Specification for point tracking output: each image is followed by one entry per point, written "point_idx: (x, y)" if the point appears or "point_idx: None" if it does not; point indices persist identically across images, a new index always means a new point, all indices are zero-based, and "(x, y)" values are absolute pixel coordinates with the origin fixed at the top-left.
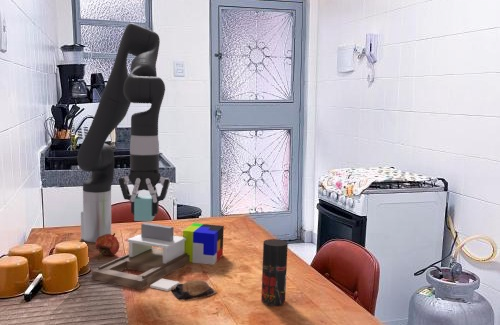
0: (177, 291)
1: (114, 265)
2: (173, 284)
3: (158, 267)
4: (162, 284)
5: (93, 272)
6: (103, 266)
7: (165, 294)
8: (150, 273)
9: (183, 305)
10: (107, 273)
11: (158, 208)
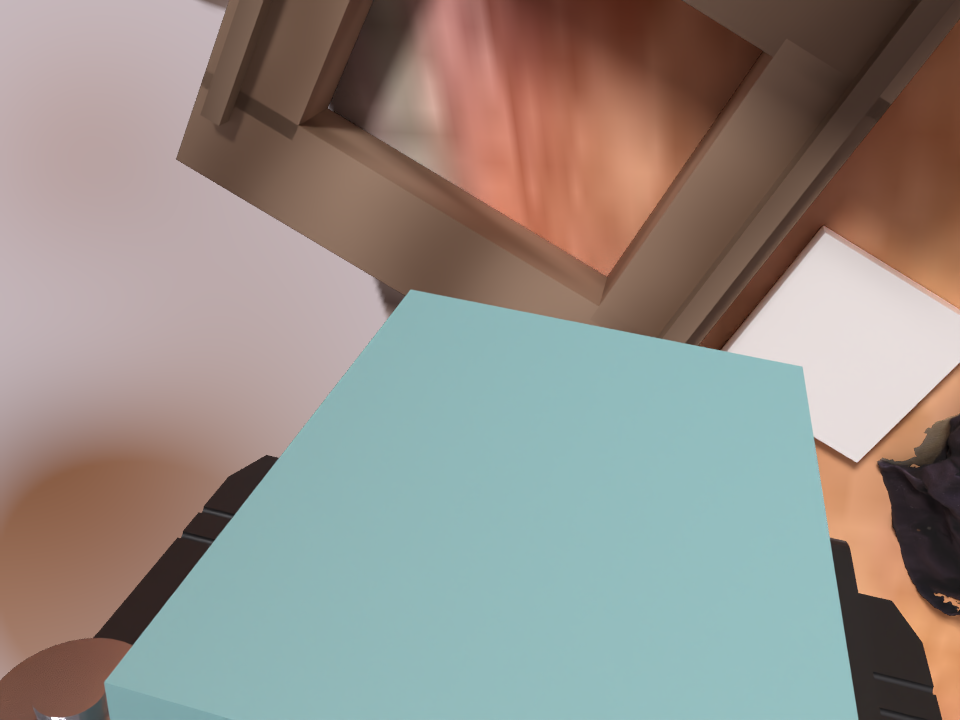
0: (931, 497)
1: (325, 8)
2: (919, 381)
3: (801, 163)
4: (817, 372)
5: (198, 167)
6: (237, 82)
7: (826, 498)
8: (710, 308)
9: (935, 667)
10: (323, 232)
11: (933, 713)
